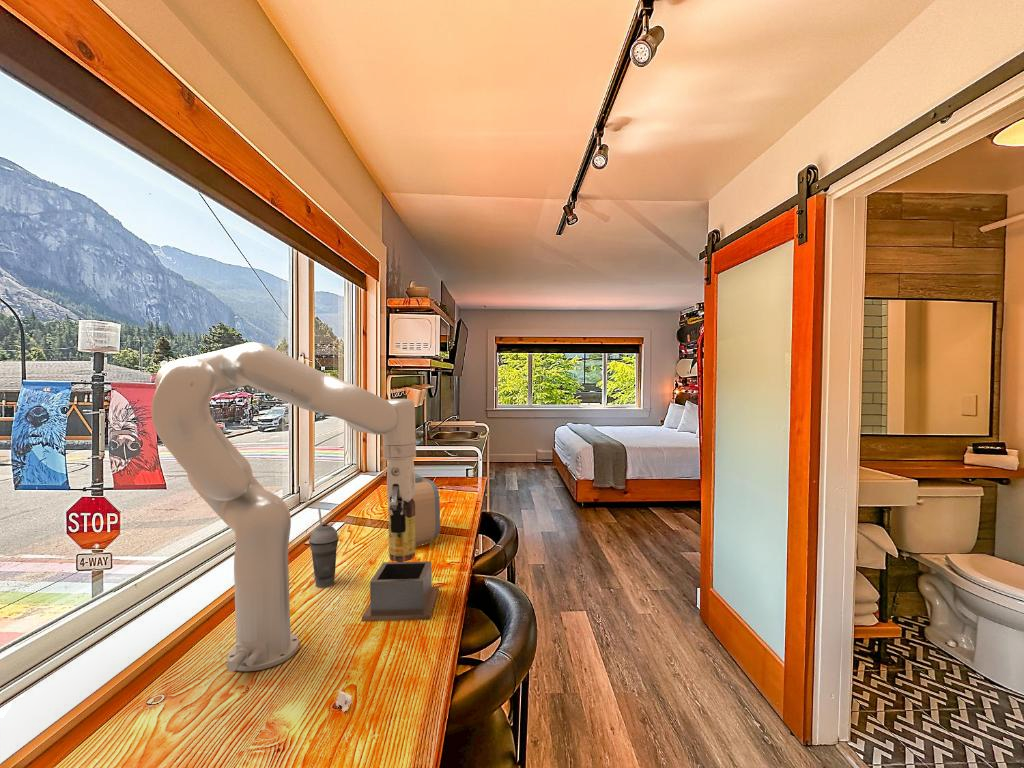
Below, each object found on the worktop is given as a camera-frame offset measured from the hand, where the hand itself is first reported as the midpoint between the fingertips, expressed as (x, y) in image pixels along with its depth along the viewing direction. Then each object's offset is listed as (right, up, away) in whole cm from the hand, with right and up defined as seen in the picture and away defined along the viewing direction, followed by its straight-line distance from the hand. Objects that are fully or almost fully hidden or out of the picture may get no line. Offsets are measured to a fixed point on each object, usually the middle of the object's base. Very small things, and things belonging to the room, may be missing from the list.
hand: (401, 526), depth 119 cm
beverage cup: (-23, -19, +13) cm, 32 cm away
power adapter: (0, -20, -36) cm, 41 cm away
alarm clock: (-6, -18, +47) cm, 51 cm away
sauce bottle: (0, -8, 0) cm, 8 cm away
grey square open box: (0, -19, 0) cm, 19 cm away
